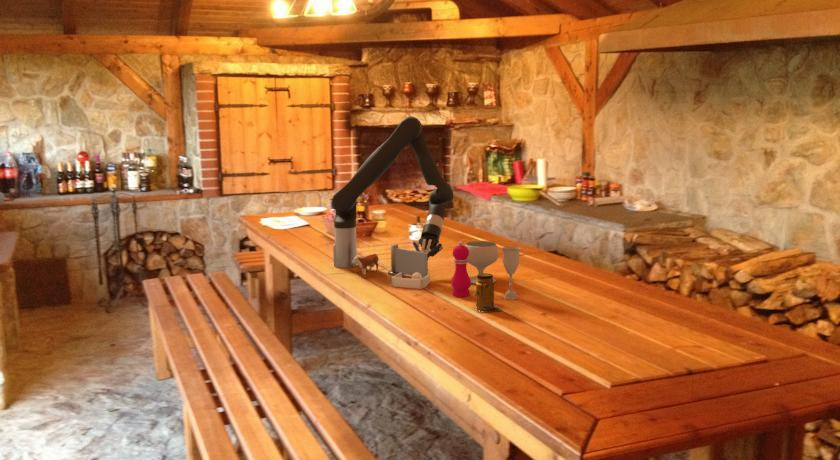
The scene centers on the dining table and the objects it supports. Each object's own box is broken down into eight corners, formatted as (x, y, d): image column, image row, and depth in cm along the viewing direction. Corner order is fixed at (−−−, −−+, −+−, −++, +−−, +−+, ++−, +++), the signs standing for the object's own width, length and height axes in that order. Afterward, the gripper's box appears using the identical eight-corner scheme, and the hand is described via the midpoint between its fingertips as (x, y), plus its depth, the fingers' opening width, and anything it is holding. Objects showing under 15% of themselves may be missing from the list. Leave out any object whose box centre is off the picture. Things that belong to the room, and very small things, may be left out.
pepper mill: (469, 298, 256) (469, 243, 252) (449, 297, 257) (449, 242, 254) (472, 292, 263) (472, 239, 259) (452, 292, 264) (452, 239, 261)
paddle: (389, 271, 294) (389, 245, 292) (395, 270, 296) (394, 244, 294) (423, 278, 280) (423, 251, 278) (429, 277, 282) (428, 250, 280)
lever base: (385, 274, 292) (385, 273, 292) (391, 271, 298) (391, 269, 298) (399, 276, 290) (399, 274, 290) (404, 272, 296) (404, 270, 296)
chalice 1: (502, 278, 284) (502, 241, 281) (494, 286, 271) (494, 248, 268) (468, 275, 289) (468, 239, 286) (458, 284, 276) (458, 246, 273)
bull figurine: (351, 275, 293) (350, 255, 292) (374, 269, 303) (374, 250, 301) (358, 276, 290) (357, 257, 289) (382, 270, 300) (381, 251, 298)
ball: (413, 269, 280) (417, 276, 282) (408, 276, 278) (412, 284, 280) (421, 270, 277) (425, 278, 280) (415, 278, 275) (420, 285, 278)
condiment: (472, 306, 245) (472, 272, 243) (496, 305, 246) (496, 271, 244) (478, 312, 238) (478, 277, 236) (502, 311, 239) (502, 276, 237)
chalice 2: (499, 295, 259) (499, 246, 256) (517, 294, 259) (518, 246, 256) (503, 300, 251) (503, 250, 248) (522, 300, 252) (522, 250, 249)
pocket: (391, 286, 274) (391, 277, 273) (400, 280, 282) (400, 272, 281) (422, 288, 269) (421, 279, 269) (430, 283, 277) (430, 274, 277)
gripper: (415, 222, 292) (404, 258, 283) (445, 223, 288) (436, 260, 279) (419, 232, 298) (409, 267, 289) (450, 234, 294) (440, 270, 285)
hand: (422, 264), depth 284 cm, fingers closed
